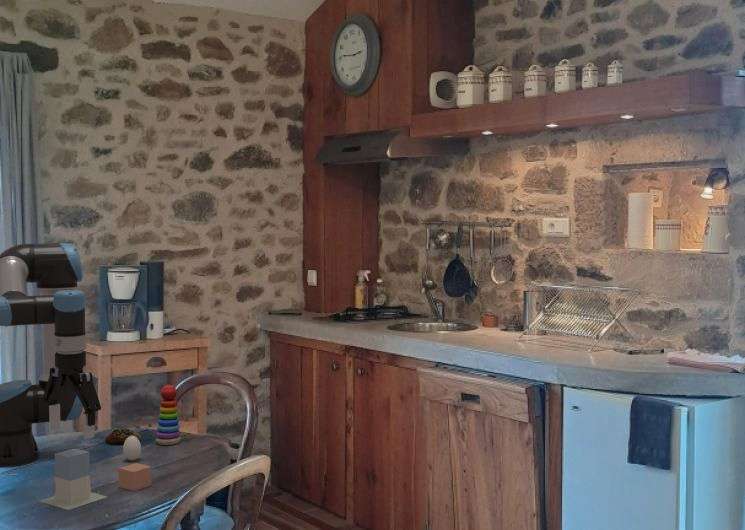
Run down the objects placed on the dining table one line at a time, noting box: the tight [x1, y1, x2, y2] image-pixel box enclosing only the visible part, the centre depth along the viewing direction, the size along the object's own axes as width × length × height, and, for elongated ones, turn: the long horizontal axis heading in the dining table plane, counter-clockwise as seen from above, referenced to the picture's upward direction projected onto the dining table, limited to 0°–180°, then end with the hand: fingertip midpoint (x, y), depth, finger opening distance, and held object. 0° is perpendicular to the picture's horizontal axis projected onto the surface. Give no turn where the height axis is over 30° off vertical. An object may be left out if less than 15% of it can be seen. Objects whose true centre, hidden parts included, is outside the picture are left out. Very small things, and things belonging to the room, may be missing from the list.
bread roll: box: [105, 428, 142, 447], centre depth 283 cm, size 11×11×5 cm
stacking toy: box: [155, 384, 182, 446], centre depth 281 cm, size 8×8×19 cm
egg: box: [122, 436, 142, 461], centre depth 261 cm, size 5×5×7 cm
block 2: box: [54, 474, 91, 504], centre depth 223 cm, size 6×6×6 cm
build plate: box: [39, 491, 108, 511], centre depth 224 cm, size 12×12×1 cm
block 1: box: [54, 448, 91, 481], centre depth 223 cm, size 6×6×6 cm
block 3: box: [118, 462, 153, 492], centre depth 234 cm, size 6×6×6 cm
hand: (71, 433), depth 223 cm, fingers open, 13 cm apart
